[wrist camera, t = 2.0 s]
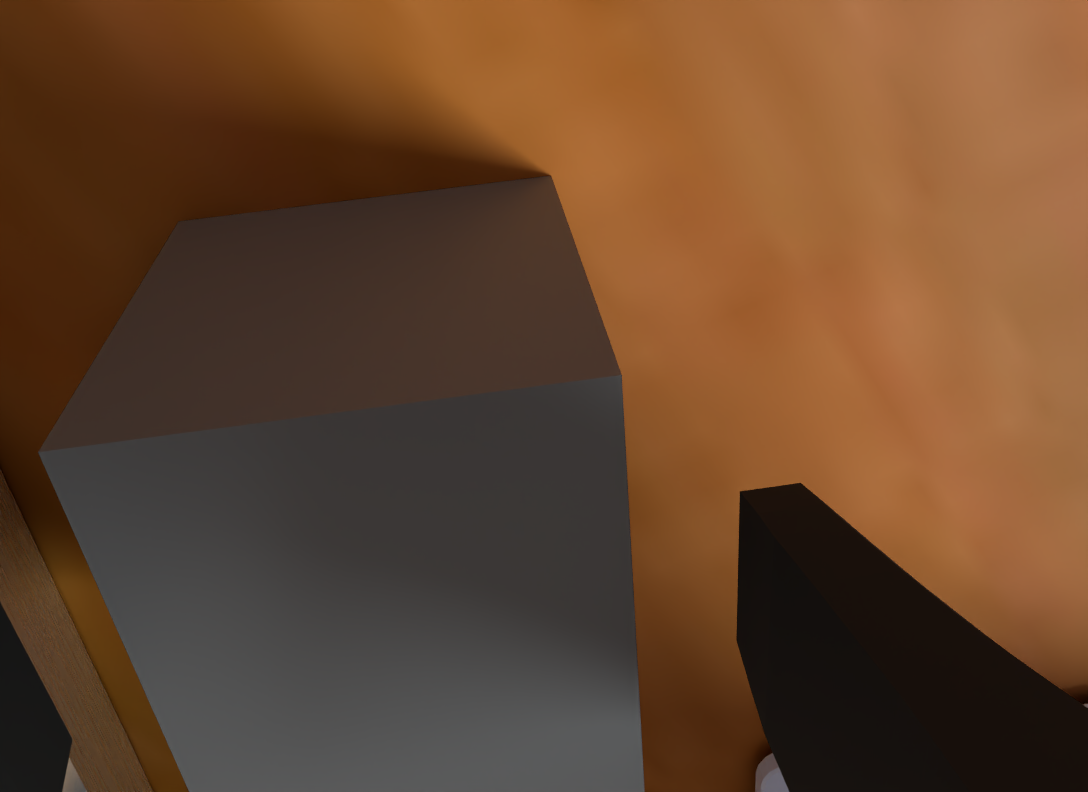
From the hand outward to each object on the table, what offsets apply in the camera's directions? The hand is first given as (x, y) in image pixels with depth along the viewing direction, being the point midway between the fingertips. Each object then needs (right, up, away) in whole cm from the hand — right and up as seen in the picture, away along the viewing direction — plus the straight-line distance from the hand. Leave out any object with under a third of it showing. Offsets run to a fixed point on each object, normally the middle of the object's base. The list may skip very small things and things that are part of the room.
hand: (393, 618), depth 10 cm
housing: (0, +2, +4) cm, 4 cm away
